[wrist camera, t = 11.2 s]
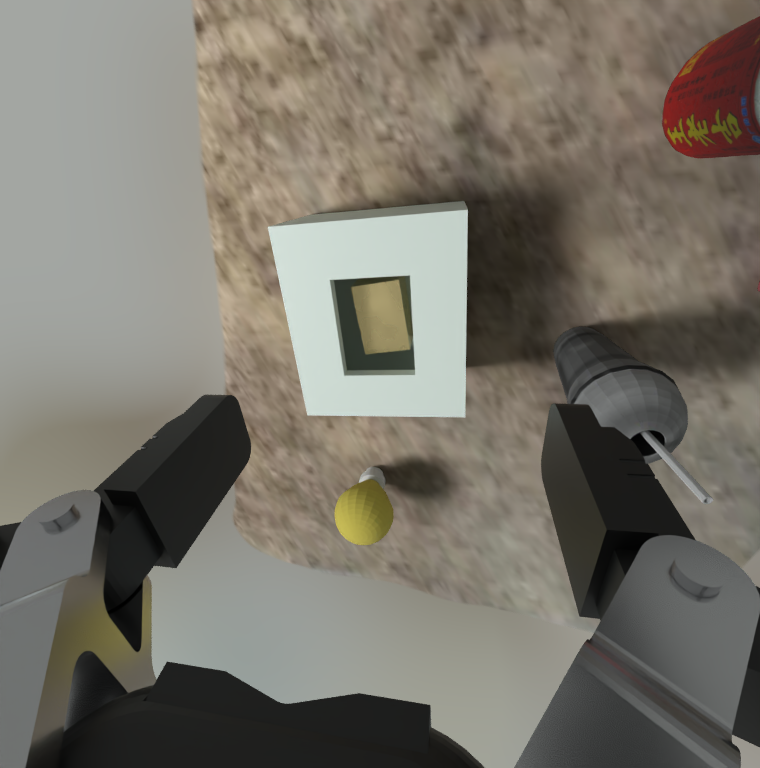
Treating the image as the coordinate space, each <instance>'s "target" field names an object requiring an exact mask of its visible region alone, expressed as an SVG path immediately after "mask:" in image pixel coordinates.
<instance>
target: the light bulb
mask: <svg viewBox="0 0 760 768" xmlns="http://www.w3.org/2000/svg"><path fill="white" fill-rule="evenodd" d="M384 487H385V478H384V476H383V472H382V470H381V469H379V468H377V467H370V468H368V469H367V470H366V471H365V472H364V473H363V474H362V475H361V477H360V481H359V483H358V484H356V485H354V486H352V487H351V488H350V489H348V490H347V491H345V492H344V493H343V494H342V495H341V496H340V497H339V499H338V501H337V504H336V508H335V521H336V525H337V528H338V530H339V531H340V533H341V534H342V535H343V536H344V537H345V538H346V539H347V540H348V541H350V542H352V543H354V544H357V545H370V544H373V543H375V542H378V541H379V540H381V539H382V538H383V537H384V536H385V535H386V534H387V533H388V531H389V529H390V527H391V525H392V522H393V508H392V505H391V503H390V501H389V499H388V496H387V494H386V492H385V491H384Z"/></svg>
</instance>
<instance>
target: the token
mask: <svg viewBox="0 0 760 768" xmlns="http://www.w3.org/2000/svg"><path fill="white" fill-rule="evenodd" d="M351 291H352V296H353V301H354V305H355V310H356V314H357V319H358V323H359V328H360V333H361V337H362V342H363V346H364V351H365V354H374V353H384V352H393V351H402V350H410V348H411V344H412V340H413V327H412V321H411V314H410V307H409V301H408V294H407V288H406V281H405V276H392V277H374V278H358V279H357V281H356V282H355V283H354V284H353V285H352V286H351Z"/></svg>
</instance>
